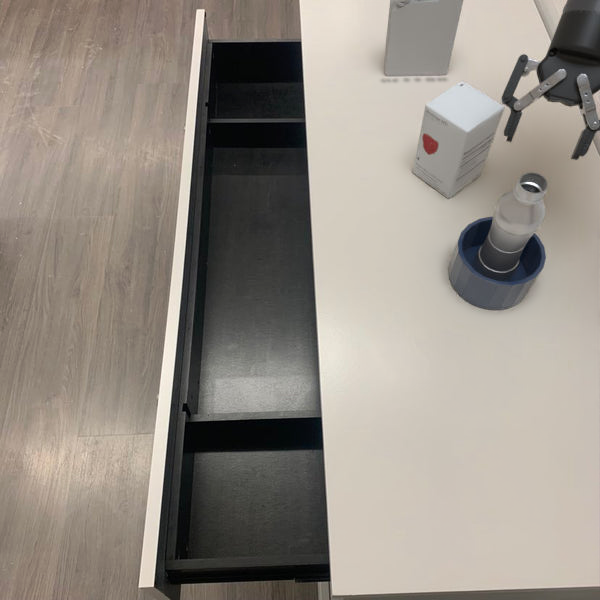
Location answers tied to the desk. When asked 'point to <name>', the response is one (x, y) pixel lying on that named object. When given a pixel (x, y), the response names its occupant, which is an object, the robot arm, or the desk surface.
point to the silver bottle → (512, 228)
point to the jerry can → (420, 36)
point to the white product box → (456, 138)
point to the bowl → (485, 289)
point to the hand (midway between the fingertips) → (541, 150)
